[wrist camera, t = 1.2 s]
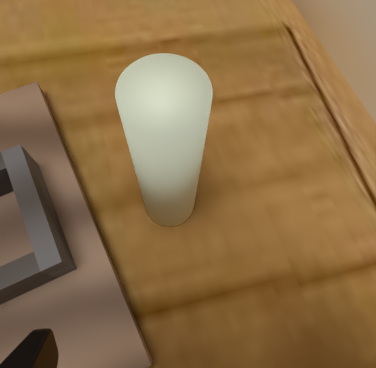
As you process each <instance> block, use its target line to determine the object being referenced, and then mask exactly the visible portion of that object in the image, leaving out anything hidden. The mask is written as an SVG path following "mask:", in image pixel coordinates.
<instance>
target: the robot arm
mask: <svg viewBox="0 0 376 368" xmlns="http://www.w3.org/2000/svg"><path fill="white" fill-rule="evenodd" d="M58 358H59V353H58V348H57V344H56V341H55V337H54V334H53V331H52V330H51V329H50V328H44V329H35V330H33V331H31V332H30V333H29V334H28V335H27V337H26V338H25V339H24V340H23V341H22V342H21V343H20V344H19V345H18V346H17V347H16V348H15V349H14V350H13V351H12V352H11V353H10V354H9V355H8V356H7V357H6V358H5V360H4V361H3V362H2V363H1V364H0V368H57V365H58Z"/></svg>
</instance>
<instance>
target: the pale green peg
mask: <svg viewBox="0 0 376 368" xmlns="http://www.w3.org/2000/svg"><path fill="white" fill-rule="evenodd" d="M212 96H213V92H212V85H211V82H210V80H209V78H208V76H207V74H206V73H205V71H204V70H203V69H202V68H201V67H200V66H199V65H197V64H196V63H195V62H193V61H191V60H190V59H188V58H185V57H183V56H180V55H175V54H168V53H160V54H153V55H148V56H145V57H143V58H140V59H138V60H136V61H135V62H133V63H132V64H130V65H129V66H128V67H127V68H126V69H125V70H124V71H123V73H122V74H121V75H120V77H119V79H118V82H117V85H116V89H115V97H116V102H117V106H118V110H119V114H120V117H121V121H122V124H123V128H124V132H125V135H126V139H127V143H128V146H129V150H130V154H131V157H132V161H133V165H134V168H135V172H136V175H137V179H138V183H139V186H140V190H141V194H142V197H143V201H144V205H145V208H146V211H147V214H148V215H149V217H150V218H151V219H152V220H153V221H154V222H155V223H157V224H159V225H162V226H167V227H172V226H177V225H180V224H182V223H183V222H185V221H186V220H187V219H188V218H189V217H190V215H191V214H192V212H193V208H194V203H195V197H196V191H197V186H198V180H199V174H200V168H201V162H202V156H203V150H204V144H205V138H206V133H207V127H208V121H209V115H210V109H211V103H212Z"/></svg>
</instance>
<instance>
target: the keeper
mask: <svg viewBox="0 0 376 368" xmlns="http://www.w3.org/2000/svg"><path fill="white" fill-rule="evenodd" d="M44 328H50V329H51V330H52V331H53V334H54V337H55V341H56V344H57V348H58V353H59V358H58V365H57V368H148V367H149V366H151V365H152V363H153V361H152V358H151V356H150V353H149V351H148V349H147V346H146V344H145V341H144V339H143V336H142V334H141V331H140V329H139V326H138V324H137V321H136V319H135V317H134V314H133V312H132V309H131V307H130V304H129V302H128V299H127V297H126V294H125V292H124V289H123V287H122V285H121V282H120V280H119V277H118V275H117V272H116V270H115V267H114V265H113V262H112V260H111V257H110V255H109V253H108V250H107V248H106V245H105V243H104V240H103V238H102V235H101V233H100V230H99V228H98V226H97V223H96V221H95V218H94V216H93V213H92V211H91V208H90V206H89V203H88V201H87V198H86V196H85V194H84V191H83V189H82V186H81V184H80V181H79V179H78V176H77V174H76V171H75V169H74V166H73V164H72V162H71V159H70V157H69V154H68V152H67V149H66V147H65V144H64V142H63V139H62V137H61V134H60V132H59V130H58V127H57V125H56V122H55V120H54V117H53V115H52V112H51V110H50V107H49V105H48V103H47V100H46V98H45V95H44V93H43V91H42V90H41V88H40V86H39V84H38V83H37V82H34V83H31V84H29V85H26V86H23V87H20V88H17V89H14V90H11V91H8V92H5V93H3V94H0V364H1V363H2V362H3V361H4V360H5V358H6V357H7V356H8V355H9V354H10V353H11V352H12V351H13V350H14V349H15V348H16V347H17V346H18V345H19V344H20V343H21V342H22V341H23V340H24V339H25V338H26V337H27V335H28V334H29V333H30V332H31V331H33V330H35V329H44Z"/></svg>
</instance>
